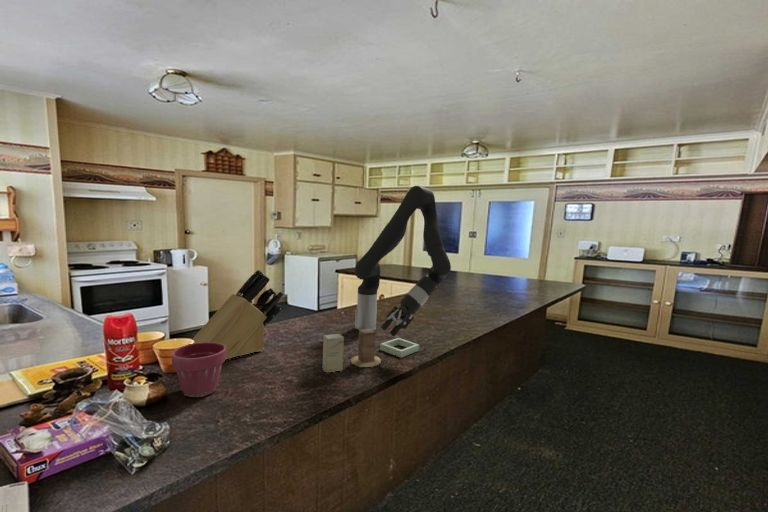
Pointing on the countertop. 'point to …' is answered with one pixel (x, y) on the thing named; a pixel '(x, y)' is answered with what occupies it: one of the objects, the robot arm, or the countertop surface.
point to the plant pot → (199, 366)
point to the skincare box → (333, 352)
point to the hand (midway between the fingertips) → (386, 331)
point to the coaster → (368, 364)
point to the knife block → (242, 318)
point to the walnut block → (366, 345)
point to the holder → (391, 349)
